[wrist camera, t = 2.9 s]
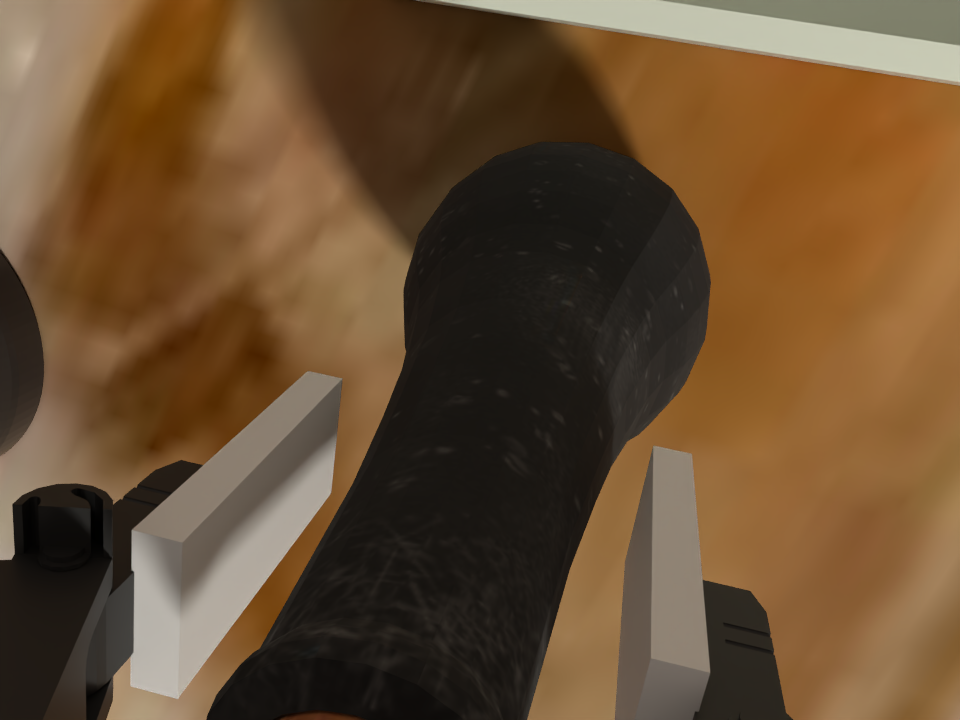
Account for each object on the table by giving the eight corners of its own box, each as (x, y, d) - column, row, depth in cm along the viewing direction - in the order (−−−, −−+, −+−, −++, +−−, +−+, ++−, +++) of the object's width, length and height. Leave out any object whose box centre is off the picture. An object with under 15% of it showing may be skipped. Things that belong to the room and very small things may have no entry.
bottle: (520, 80, 35) (-50, 184, 7) (755, 209, 34) (1164, 859, 7) (408, 304, 39) (-240, 953, 11) (619, 421, 38) (517, 1382, 11)
